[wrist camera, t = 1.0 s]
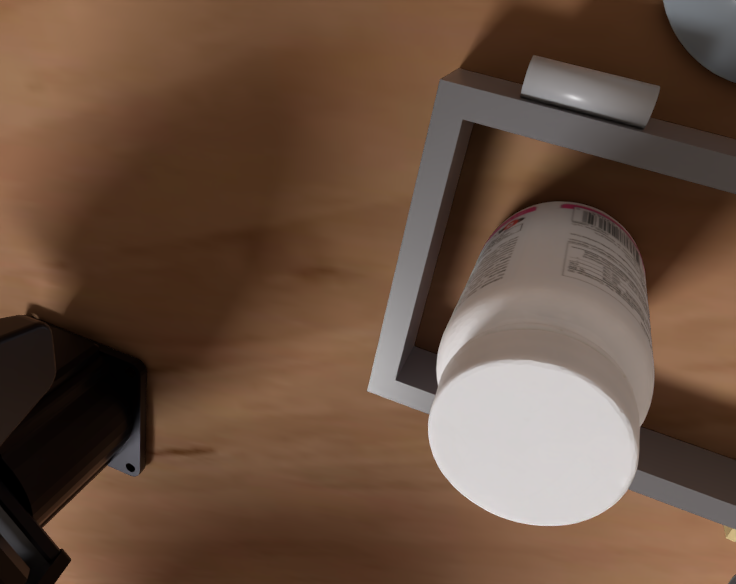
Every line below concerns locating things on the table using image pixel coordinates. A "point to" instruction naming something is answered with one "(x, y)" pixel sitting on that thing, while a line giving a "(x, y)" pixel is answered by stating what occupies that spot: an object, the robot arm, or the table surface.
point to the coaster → (706, 32)
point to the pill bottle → (546, 369)
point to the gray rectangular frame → (581, 133)
